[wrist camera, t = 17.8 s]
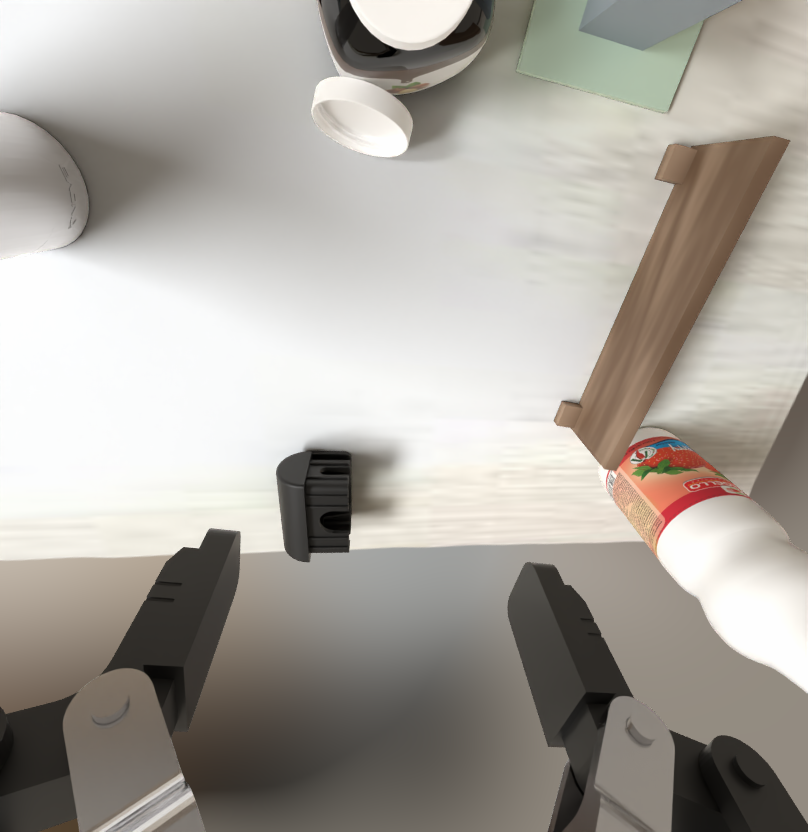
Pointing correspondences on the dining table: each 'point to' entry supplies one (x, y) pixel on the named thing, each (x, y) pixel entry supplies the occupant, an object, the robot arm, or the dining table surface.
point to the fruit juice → (718, 549)
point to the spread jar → (391, 64)
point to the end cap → (315, 502)
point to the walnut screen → (670, 286)
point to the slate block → (645, 19)
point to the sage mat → (602, 58)
